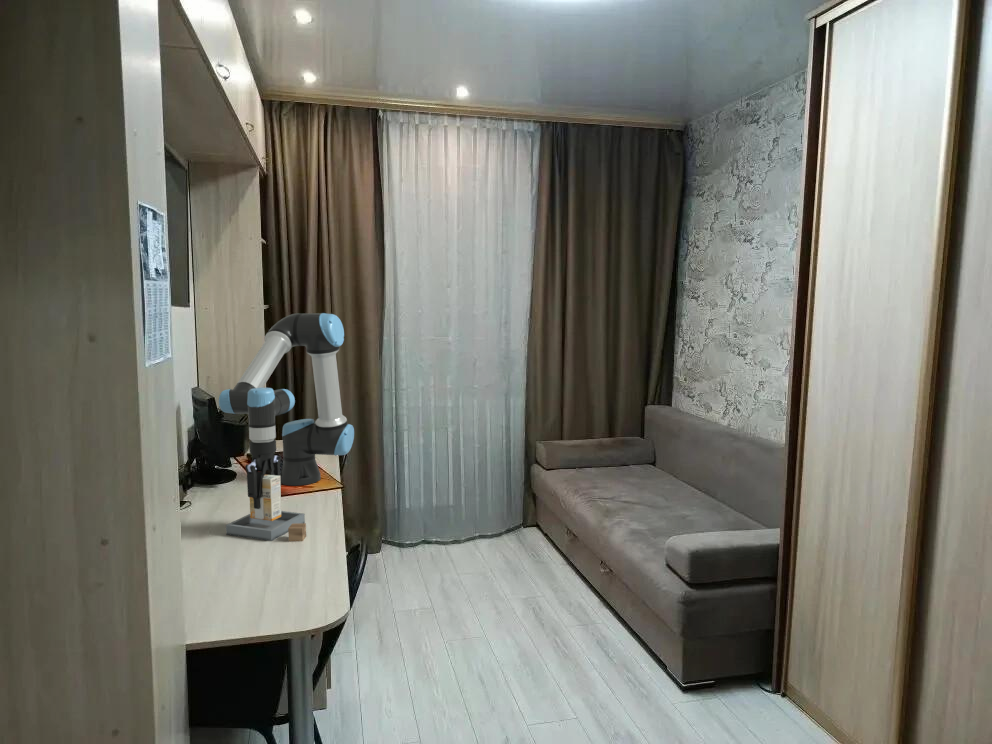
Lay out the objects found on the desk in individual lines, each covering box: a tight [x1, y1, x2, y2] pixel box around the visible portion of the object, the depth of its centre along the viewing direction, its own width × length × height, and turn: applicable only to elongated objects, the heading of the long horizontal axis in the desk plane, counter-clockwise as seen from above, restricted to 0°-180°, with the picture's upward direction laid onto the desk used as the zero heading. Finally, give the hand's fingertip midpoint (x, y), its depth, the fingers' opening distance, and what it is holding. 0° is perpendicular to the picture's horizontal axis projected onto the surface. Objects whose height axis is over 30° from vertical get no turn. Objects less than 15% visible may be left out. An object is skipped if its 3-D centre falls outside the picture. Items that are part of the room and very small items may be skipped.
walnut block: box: [287, 523, 307, 542], centre depth 191 cm, size 4×4×4 cm
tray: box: [225, 510, 305, 542], centre depth 199 cm, size 16×16×3 cm
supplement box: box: [249, 474, 282, 521], centre depth 198 cm, size 8×5×13 cm, turn 70°
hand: (265, 515), depth 199 cm, fingers closed on supplement box, 5 cm apart
